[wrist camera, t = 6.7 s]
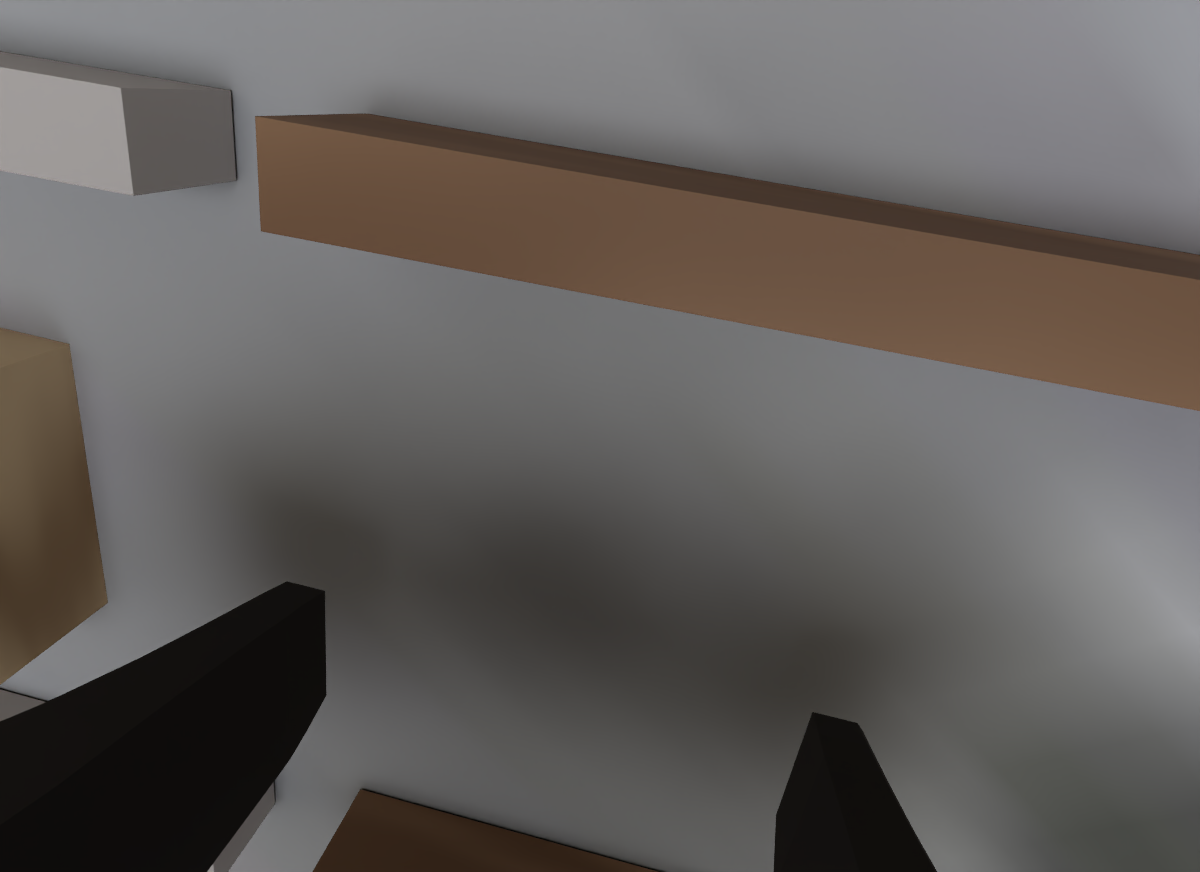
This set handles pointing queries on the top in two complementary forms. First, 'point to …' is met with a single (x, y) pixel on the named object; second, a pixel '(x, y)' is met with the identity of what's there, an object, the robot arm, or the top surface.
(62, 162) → the grey corral
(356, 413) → the top surface
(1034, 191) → the top surface
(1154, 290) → the brown u-shaped frame
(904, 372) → the top surface
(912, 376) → the top surface
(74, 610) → the oak block
